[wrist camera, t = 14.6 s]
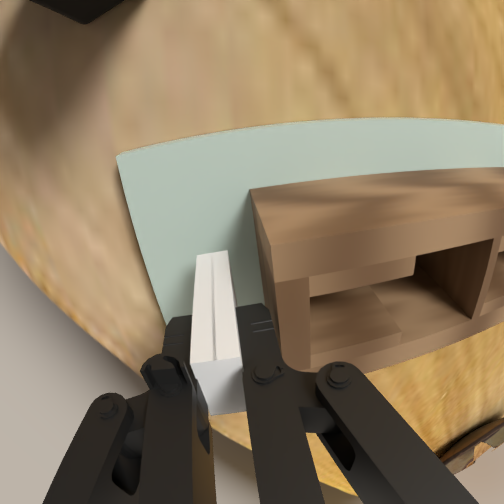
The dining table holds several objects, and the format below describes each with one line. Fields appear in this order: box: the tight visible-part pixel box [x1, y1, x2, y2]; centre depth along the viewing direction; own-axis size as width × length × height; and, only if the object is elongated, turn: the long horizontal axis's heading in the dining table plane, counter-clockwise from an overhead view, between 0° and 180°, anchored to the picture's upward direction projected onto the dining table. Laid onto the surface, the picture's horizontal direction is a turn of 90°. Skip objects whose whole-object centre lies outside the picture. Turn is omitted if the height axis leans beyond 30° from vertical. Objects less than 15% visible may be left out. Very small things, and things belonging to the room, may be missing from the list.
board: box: [116, 118, 504, 325], centre depth 15 cm, size 28×12×4 cm, turn 98°
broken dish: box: [440, 418, 504, 475], centre depth 38 cm, size 22×30×8 cm
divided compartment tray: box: [250, 167, 504, 374], centre depth 14 cm, size 20×7×6 cm, turn 97°
